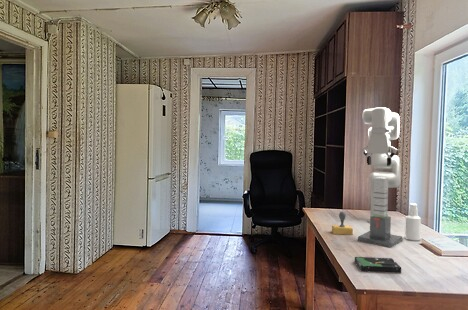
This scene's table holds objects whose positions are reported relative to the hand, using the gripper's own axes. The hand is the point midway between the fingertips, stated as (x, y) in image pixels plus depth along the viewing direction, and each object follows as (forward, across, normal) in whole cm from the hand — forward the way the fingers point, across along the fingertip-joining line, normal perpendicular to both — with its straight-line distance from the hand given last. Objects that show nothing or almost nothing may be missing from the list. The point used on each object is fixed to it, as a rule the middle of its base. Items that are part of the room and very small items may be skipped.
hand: (378, 165), depth 169 cm
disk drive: (+37, -15, +43) cm, 59 cm away
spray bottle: (+38, -14, -10) cm, 42 cm away
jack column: (+28, -3, +5) cm, 29 cm away
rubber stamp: (+38, +17, +5) cm, 42 cm away
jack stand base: (+38, -3, +5) cm, 38 cm away
